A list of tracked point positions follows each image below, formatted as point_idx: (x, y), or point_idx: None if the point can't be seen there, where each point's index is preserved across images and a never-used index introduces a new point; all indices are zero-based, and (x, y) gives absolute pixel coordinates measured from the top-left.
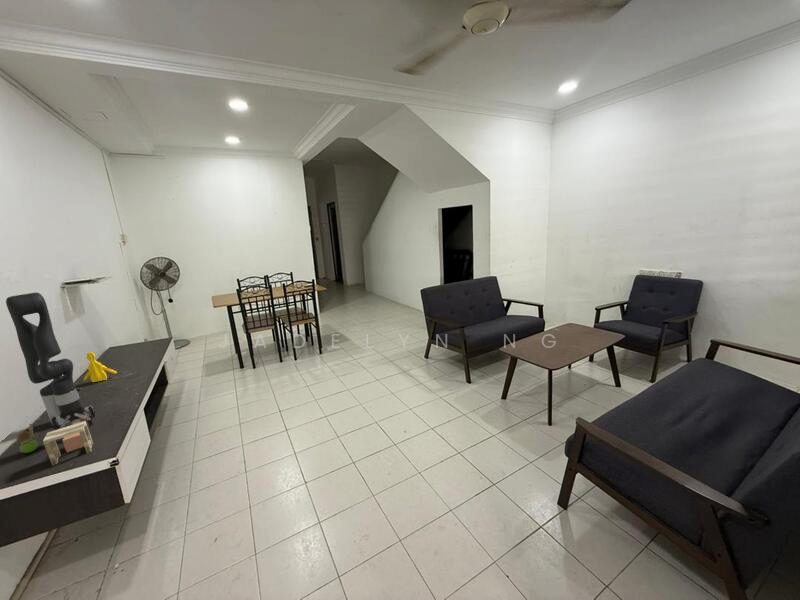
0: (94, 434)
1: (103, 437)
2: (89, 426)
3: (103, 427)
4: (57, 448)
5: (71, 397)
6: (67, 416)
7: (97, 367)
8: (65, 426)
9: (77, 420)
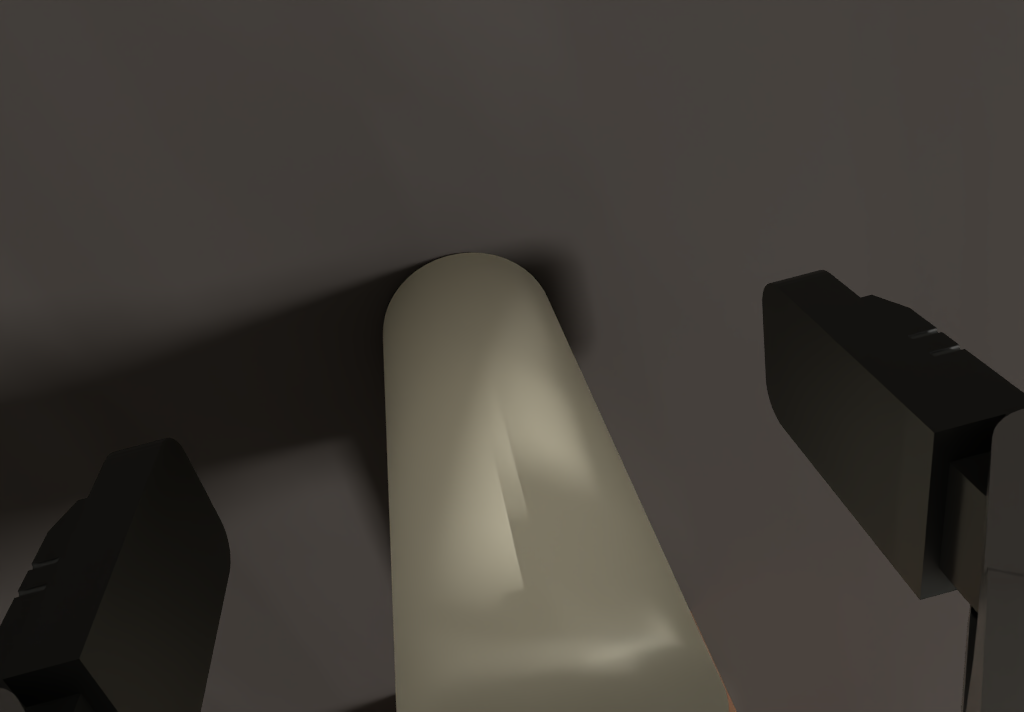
0: (790, 475)
1: (947, 651)
2: (787, 426)
3: (948, 216)
4: None
5: None
6: None
7: None
8: (104, 693)
9: (616, 689)
